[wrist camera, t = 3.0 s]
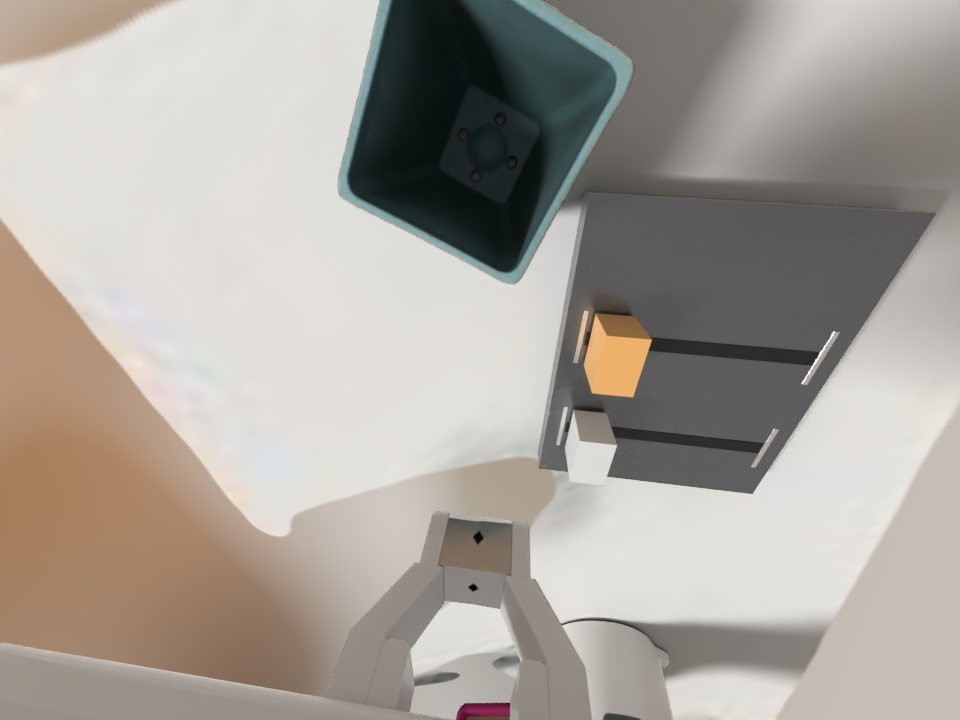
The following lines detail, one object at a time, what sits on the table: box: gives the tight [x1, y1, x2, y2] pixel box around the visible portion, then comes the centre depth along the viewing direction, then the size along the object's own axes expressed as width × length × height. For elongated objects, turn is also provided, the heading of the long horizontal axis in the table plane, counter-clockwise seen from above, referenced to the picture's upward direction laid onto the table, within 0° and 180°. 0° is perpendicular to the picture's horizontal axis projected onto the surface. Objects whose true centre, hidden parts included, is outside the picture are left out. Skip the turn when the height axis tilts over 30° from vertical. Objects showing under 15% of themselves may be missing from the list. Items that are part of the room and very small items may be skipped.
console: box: [538, 192, 936, 494], centre depth 25 cm, size 22×18×2 cm
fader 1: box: [565, 410, 617, 486], centre depth 26 cm, size 4×2×4 cm, turn 177°
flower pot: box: [337, 0, 634, 284], centre depth 17 cm, size 9×9×9 cm
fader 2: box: [584, 313, 652, 397], centre depth 22 cm, size 4×2×4 cm, turn 177°
